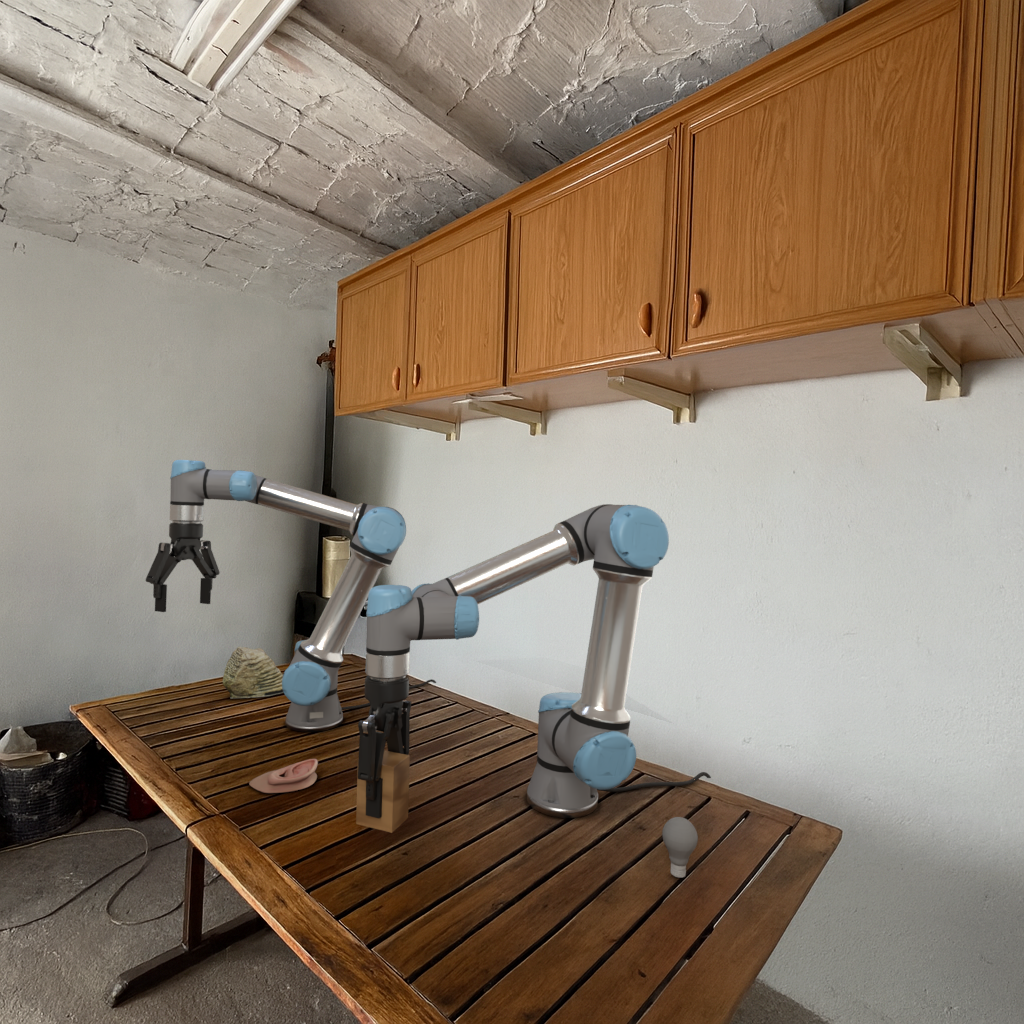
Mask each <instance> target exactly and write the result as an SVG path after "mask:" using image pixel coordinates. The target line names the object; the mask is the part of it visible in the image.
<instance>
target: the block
mask: <svg viewBox="0 0 1024 1024" xmlns="http://www.w3.org/2000/svg"><path fill="white" fill-rule="evenodd" d="M410 765H411V755H410V754H408V755H406V754H401V753H396V752H390V751H388V750H385V749H384V755H383V761H382V767H381V773H380V778H383V788H382V817H381V818H375V817H371V816H366V781H365V780H360V779H358V771H357V773H356V774H357V775H356V776H357V779H356V780H357V781H356V813H355V815H356V816H355V824H356V825H358V826H362V827H366V828H371V829H374V830H378V831H382V832H387V833H391V834H392V833H394V832H395V831H396V830H397V829H398V828H399V827H400V826H401V825H402V824H404V822H405V821H407V820H408V819H409V805H410V804H409V801H410V800H409V799H410V769H411V768H410V767H411V766H410Z"/></svg>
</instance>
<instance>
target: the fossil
mask: <svg viewBox="0 0 1024 1024" xmlns="http://www.w3.org/2000/svg"><path fill="white" fill-rule="evenodd" d="M222 676H223V677H222V685H223V687H224V688H225V690H226V691H228V693H229V698H230V699H250V698H264V697H271V696H275V695H281V694H284V692H283V689H282V679H283V673H282V672H281V669H279V668H278V667H277V665H276V663H275V662H274V660H273V659H272V658H271V657H270V656H269V655H268V654H267V653H266V652H265V650H264V649H263V648H260V647H258V648H251V647H247V646H246V647H245V646H238V647H237V648H236V649H235V650H233V651H232V653H231V656H230V657H229V659H228V660H227V663H226V666H225V668H224V671H223V675H222Z"/></svg>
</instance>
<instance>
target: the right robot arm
mask: <svg viewBox="0 0 1024 1024" xmlns="http://www.w3.org/2000/svg"><path fill="white" fill-rule="evenodd" d="M669 543H670V535H669V531H668V527H667V525H666V523H665V521H663V519H662V517H661V516H660V514H658V513H657V512H656V511H655V510H653V509H651V508H648V507H645V506H642V505H641V506H640V505H637V504H610V503H609V504H608V503H606V504H604V503H603V504H600V505H596V506H592V507H591V508H588V509H586V510H584V511H581V512H580V513H577V514H575V515H573V516H571V517H569V518H567V519H565V520H563V521H560V522H558V523H556V524H555V525H554V527H553V530H552V531H549V532H547V533H545V534H543V535H540V536H538V537H536V538H533V539H530V540H529V541H526V542H524V543H522V544H519V545H518V546H515V547H513V548H511V549H508V550H506V551H504V552H502V553H499V554H496V555H494V556H492V557H490V558H488V559H485V560H484V561H481V562H478V563H477V564H474V565H472V566H470V567H468V568H465V569H463V570H460V571H459V572H456V573H454V574H452V575H450V576H447V577H445V578H442V579H440V580H437V581H436V582H435V581H434V582H433V583H422V584H419V585H417V586H415V587H413V589H411V587H409V586H408V585H403V584H402V585H401V584H381V585H376V586H375V585H374V586H373V588H372V589H371V590H370V591H369V594H368V598H367V608H366V613H365V615H366V623H365V624H366V627H365V629H366V630H365V670H364V671H365V674H366V677H365V678H364V698H365V700H366V701H368V703H370V704H371V705H369V711H368V717H367V718H366V719H365V720H359V721H358V724H357V727H358V733H359V741H358V742H359V743H358V759H357V772H358V779H360V780H365V781H366V816H371V817H375V818H381V817H382V788H383V778H380V773H381V767H382V761H383V755H384V750H385V749H386V747H387V751H390V752H396V753H401V754H406V755H410V723H411V722H410V720H411V718H410V717H411V716H410V715H411V710H412V709H411V707H412V701H411V700H407V699H408V697H409V693H410V689H409V686H410V677H409V676H408V675H409V673H410V671H411V670H410V669H411V668H410V665H411V664H410V660H411V659H410V658H411V653H410V652H411V641H427V640H428V641H429V640H431V641H432V640H433V641H435V640H461V639H469V638H473V637H475V636H476V634H477V633H478V630H479V627H480V610H479V609H480V608H479V605H480V604H482V603H485V602H486V601H489V600H491V599H493V598H495V597H497V596H500V595H502V594H504V593H506V592H509V591H510V590H513V589H515V588H517V587H520V586H522V585H524V584H526V583H528V582H530V581H532V580H535V579H537V578H539V577H541V576H544V575H546V574H548V573H550V572H552V571H555V570H557V569H559V568H562V567H564V566H566V565H571V566H577V565H579V564H582V563H584V562H587V561H592V560H593V564H592V570H593V571H594V573H595V574H596V576H597V578H598V583H597V587H596V588H597V589H596V595H595V601H594V608H593V615H592V620H591V628H590V634H589V640H588V646H587V653H586V661H585V666H584V673H583V681H582V685H581V692H571V691H570V692H569V691H563V692H562V691H561V692H551V693H547V694H545V695H543V696H541V698H540V700H539V707H538V711H537V713H538V723H537V724H538V725H537V749H536V750H537V751H536V764H535V767H534V770H533V773H532V775H531V777H530V780H529V783H528V786H527V789H526V802H527V804H528V805H529V806H530V807H531V808H532V809H534V810H535V811H536V812H538V813H541V814H543V815H546V816H549V817H554V818H561V819H562V818H563V819H574V818H575V819H576V818H582V817H586V816H588V815H590V814H592V813H593V812H595V811H596V810H597V808H598V805H599V793H598V792H599V791H600V792H601V791H602V792H608V793H622V792H628V791H633V790H637V789H643V788H650V787H684V786H688V785H691V784H694V783H695V782H697V781H698V780H699V779H701V778H702V777H706V779H711V778H712V777H711V775H710V774H709V773H707V772H705V771H701V772H699V773H698V774H697V775H695V776H694V777H692V778H691V779H689V780H683V781H654V782H653V781H651V782H643V783H637V784H631V785H627V786H622V787H618V786H620V785H621V783H622V782H623V781H626V780H627V779H628V778H629V776H630V775H631V773H632V772H633V770H634V768H635V766H636V762H637V749H636V746H635V744H634V741H633V740H632V738H631V737H629V732H630V726H631V715H630V714H629V712H628V711H627V709H626V708H625V706H626V705H625V704H626V698H627V693H628V692H627V691H628V685H629V679H630V673H631V665H632V659H633V651H634V646H635V640H636V632H637V625H638V619H639V612H640V606H641V599H642V594H643V587H644V586H645V584H647V583H648V582H649V581H651V580H652V579H653V573H654V568H655V566H657V565H659V564H660V562H661V561H662V560H664V559H665V556H666V555H667V553H668V549H669V545H670V544H669ZM694 779H695V780H694Z"/></svg>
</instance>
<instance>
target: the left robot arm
mask: <svg viewBox="0 0 1024 1024" xmlns="http://www.w3.org/2000/svg"><path fill="white" fill-rule="evenodd" d="M169 480H170V501H169V504H170V505H169V521H170V524H168V537H169V538H170V543H169V542H159V543H158V548H157V553H156V555H155V558H154V559H153V562H152V564H151V567H150V569H149V571H148V573H147V575H146V578H145V582H146V583H149V584H151V585H153V587H152V588H153V592H152V596H153V598H154V612H160V613H166V612H167V595H168V594H167V593H168V584H165V583H166V581H167V579H168V578H169V576H170V575H171V574H172V572H173V571H174V569H175V568H176V567H177V565H178V564H179V563H180V562H182V561H187V560H191V561H192V562H193V564H194V565H195V566H196V568H197V569H198V571H199V572H200V574H201V575H202V576H203V577H200V586H199V587H200V589H199V604H202V605H203V604H204V605H211V594H212V590H213V582H214V581H213V579H216V578H217V576H219V575H220V569H219V567H218V564H217V561H216V558H215V555H214V552H213V550H212V542H211V541H210V540H206V539H205V540H203V539H202V538H203V537H204V524H203V523H202V522H203V521H204V517H205V515H204V514H205V513H204V512H205V500H218V501H236V502H247V503H251V504H254V505H258V506H262V507H266V508H269V509H272V510H276V511H279V512H282V513H285V514H286V513H287V514H290V515H293V516H296V517H300V518H304V519H307V520H310V521H313V522H317V523H321V524H324V525H328V526H332V527H333V528H334V527H335V528H338V529H341V530H345V531H348V532H349V533H350V535H351V536H352V537H353V538H352V540H351V541H350V544H349V546H348V548H349V551H350V557H349V558H348V561H347V563H346V564H345V567H344V568H343V571H342V573H341V576H340V577H339V579H338V581H337V583H336V585H335V587H334V589H333V591H332V593H331V595H330V597H329V599H328V602H327V603H326V604H325V607H324V609H323V611H322V613H321V615H320V617H319V619H318V621H317V623H316V625H315V627H314V629H313V631H312V633H311V635H310V637H309V638H308V639H303V640H299V641H297V642H296V643H295V648H294V655H293V658H292V660H291V662H290V664H289V666H288V667H287V668H286V669H285V671H284V672H283V673H282V675H283V679H282V689H283V694H284V696H285V698H286V699H288V701H290V704H289V708H288V711H287V713H286V715H285V726H286V728H287V729H289V730H291V731H294V732H295V731H296V732H301V733H316V732H325V731H329V730H332V729H335V728H337V727H339V726H340V725H342V723H343V722H344V714H343V711H344V710H353V709H354V710H355V709H360V708H364V707H368V706H369V707H370V706H371V704H370V702H367V703H362V704H356V705H351V706H341V702H340V699H339V695H338V682H339V681H338V680H339V679H338V677H339V670H340V668H341V666H342V664H343V661H344V657H343V654H342V650H343V649H344V646H345V644H346V642H347V640H348V638H349V636H350V635H351V632H352V631H353V628H354V627H355V624H356V622H357V620H358V618H359V616H360V614H361V612H362V610H363V608H364V606H365V604H366V602H367V601H368V594H369V591H370V590H371V589H372V588H373V587H375V584H376V582H377V580H378V578H379V576H380V574H381V572H382V570H383V569H385V568H388V567H390V566H391V565H392V563H393V561H394V559H395V557H396V555H397V553H398V551H399V549H400V547H401V546H402V545H403V543H404V541H405V539H406V535H407V523H406V520H405V518H404V517H403V515H402V514H401V513H400V512H399V511H398V510H397V509H395V508H393V507H390V506H379V505H374V504H369V503H365V502H360V503H357V504H356V503H352V502H349V501H345V500H342V499H339V498H336V497H332V496H328V495H325V494H322V493H318V492H315V491H311V490H309V489H304V488H302V487H297V486H294V485H291V484H288V483H284V482H281V481H277V480H274V479H270V478H267V477H264V476H260V475H257V474H255V473H254V472H253V471H247V470H240V469H237V470H233V469H209V468H207V467H206V463H205V461H202V460H191V459H176V460H174V461H173V462H172V464H171V472H170V478H169ZM430 683H433V684H437V681H436V680H435V679H431V678H430V679H428V680H426V681H424V682H422V683H417V684H413V685H409V690H410V689H415V688H418V687H423V686H425V685H428V684H430Z"/></svg>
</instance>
